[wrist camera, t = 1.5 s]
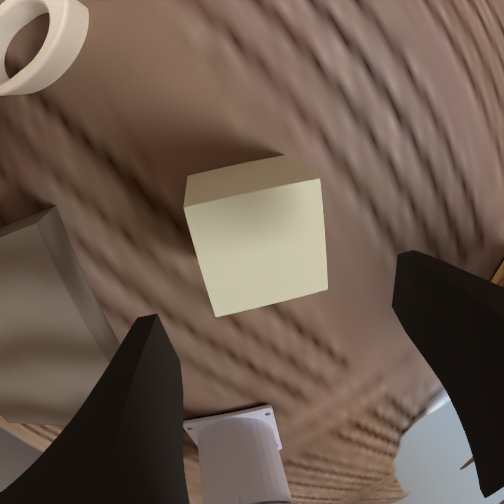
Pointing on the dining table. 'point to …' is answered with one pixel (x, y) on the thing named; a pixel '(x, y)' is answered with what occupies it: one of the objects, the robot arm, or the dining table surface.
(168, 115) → the dining table surface
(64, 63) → the white brass knuckles
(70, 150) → the dining table surface
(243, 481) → the robot arm
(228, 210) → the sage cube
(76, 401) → the taupe base
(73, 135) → the dining table surface
